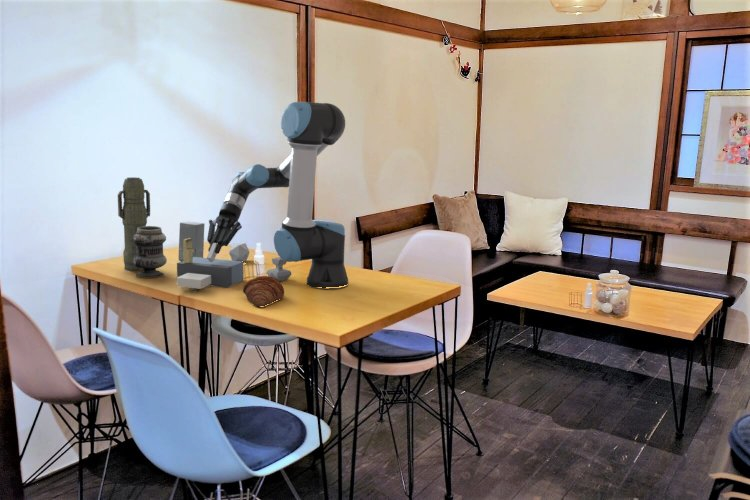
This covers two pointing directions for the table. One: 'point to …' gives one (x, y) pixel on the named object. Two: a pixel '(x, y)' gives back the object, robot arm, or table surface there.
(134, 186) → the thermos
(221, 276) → the box
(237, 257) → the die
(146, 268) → the apothecary jar
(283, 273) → the stamp
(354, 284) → the table surface
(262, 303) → the brown ridged rounded piece
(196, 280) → the light grey block
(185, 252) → the tan upright block
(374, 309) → the table surface
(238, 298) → the table surface
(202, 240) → the skincare box
